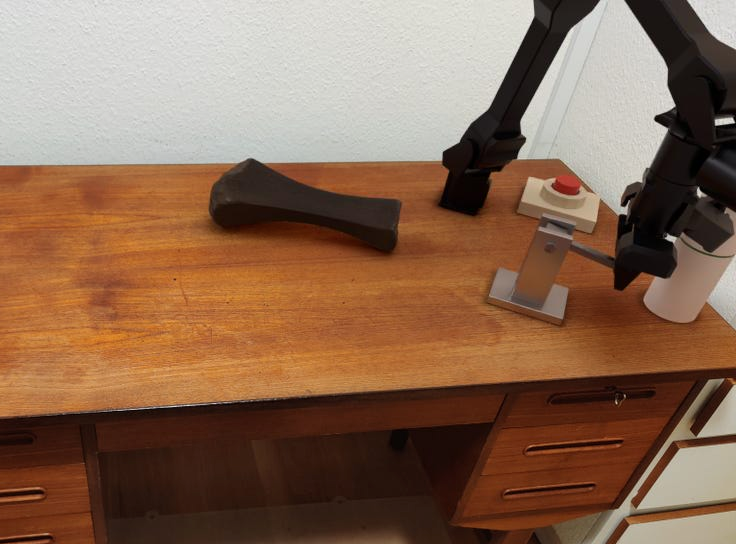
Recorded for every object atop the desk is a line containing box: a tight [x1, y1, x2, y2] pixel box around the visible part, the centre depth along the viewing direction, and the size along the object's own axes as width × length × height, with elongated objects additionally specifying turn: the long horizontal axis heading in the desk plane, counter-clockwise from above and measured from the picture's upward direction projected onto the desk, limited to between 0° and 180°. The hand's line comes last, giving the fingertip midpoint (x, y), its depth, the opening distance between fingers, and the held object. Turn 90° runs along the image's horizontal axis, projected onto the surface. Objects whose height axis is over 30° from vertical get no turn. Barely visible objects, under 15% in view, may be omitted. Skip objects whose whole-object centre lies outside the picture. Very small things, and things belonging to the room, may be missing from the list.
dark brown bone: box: [208, 157, 403, 251], centre depth 107 cm, size 11×10×28 cm
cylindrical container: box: [643, 192, 736, 324], centre depth 95 cm, size 7×7×25 cm
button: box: [552, 174, 582, 196], centre depth 119 cm, size 4×4×2 cm
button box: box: [516, 176, 601, 234], centre depth 120 cm, size 12×10×4 cm
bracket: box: [486, 213, 577, 326], centre depth 97 cm, size 10×8×12 cm
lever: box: [545, 222, 639, 280], centre depth 94 cm, size 13×3×3 cm, turn 66°
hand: (618, 283), depth 95 cm, fingers closed on lever, 3 cm apart
